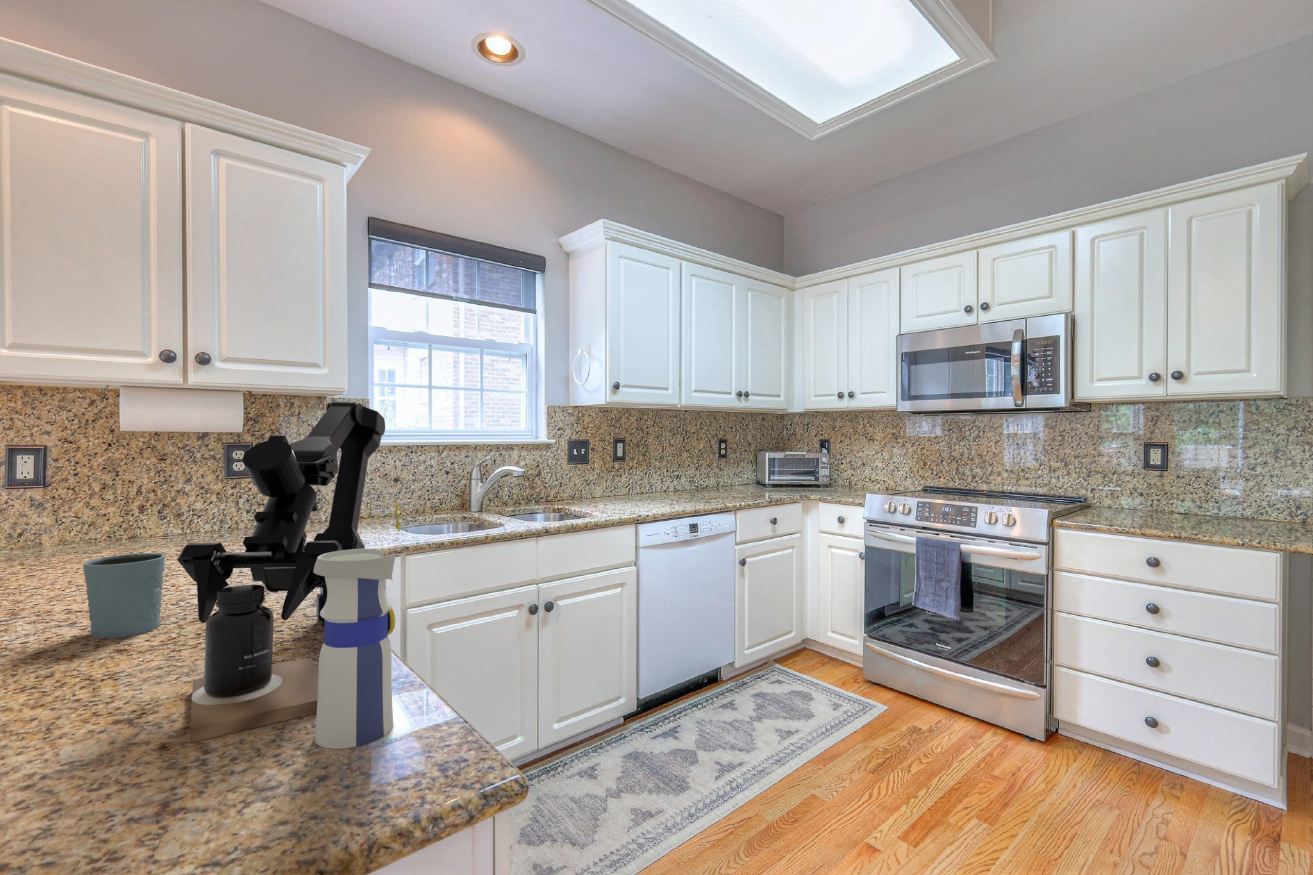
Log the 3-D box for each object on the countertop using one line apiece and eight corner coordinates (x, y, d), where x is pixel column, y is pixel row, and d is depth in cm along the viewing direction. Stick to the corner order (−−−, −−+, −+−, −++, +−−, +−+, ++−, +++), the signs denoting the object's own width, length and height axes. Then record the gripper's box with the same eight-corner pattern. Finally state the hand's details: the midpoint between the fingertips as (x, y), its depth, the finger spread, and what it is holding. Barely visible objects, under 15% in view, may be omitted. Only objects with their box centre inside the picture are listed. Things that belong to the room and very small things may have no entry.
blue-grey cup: (174, 627, 101) (175, 556, 101) (96, 644, 92) (97, 567, 93) (149, 618, 106) (149, 550, 106) (72, 633, 98) (73, 560, 98)
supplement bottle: (259, 696, 70) (260, 594, 70) (192, 701, 69) (193, 597, 69) (281, 674, 77) (282, 580, 77) (220, 678, 75) (221, 583, 75)
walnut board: (310, 668, 83) (310, 656, 83) (329, 710, 71) (329, 695, 71) (192, 691, 76) (192, 677, 76) (189, 742, 63) (190, 726, 63)
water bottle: (374, 706, 72) (376, 497, 72) (410, 727, 66) (413, 502, 67) (299, 731, 65) (301, 502, 66) (332, 757, 60) (335, 508, 60)
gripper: (367, 549, 92) (340, 646, 81) (234, 552, 89) (187, 653, 78) (350, 504, 84) (317, 604, 73) (202, 505, 81) (146, 610, 70)
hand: (243, 620), depth 74 cm, fingers open, 9 cm apart
